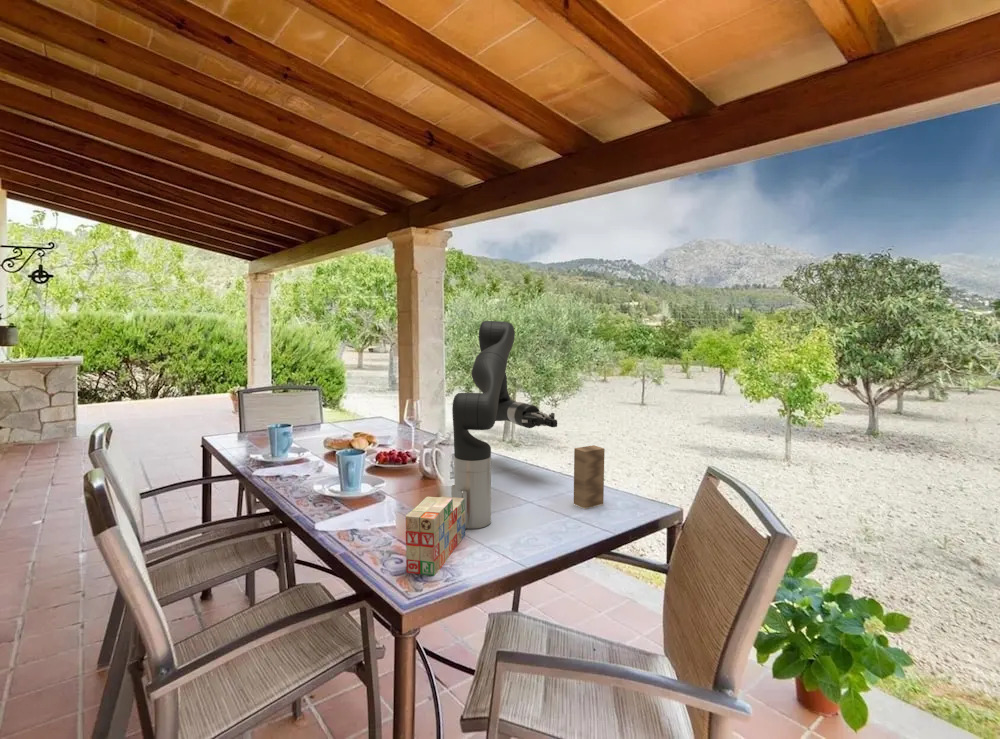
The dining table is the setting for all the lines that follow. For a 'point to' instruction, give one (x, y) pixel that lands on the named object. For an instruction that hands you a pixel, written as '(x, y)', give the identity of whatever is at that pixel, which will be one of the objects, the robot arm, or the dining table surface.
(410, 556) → the stack of blocks
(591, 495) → the walnut block
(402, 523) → the dining table surface
